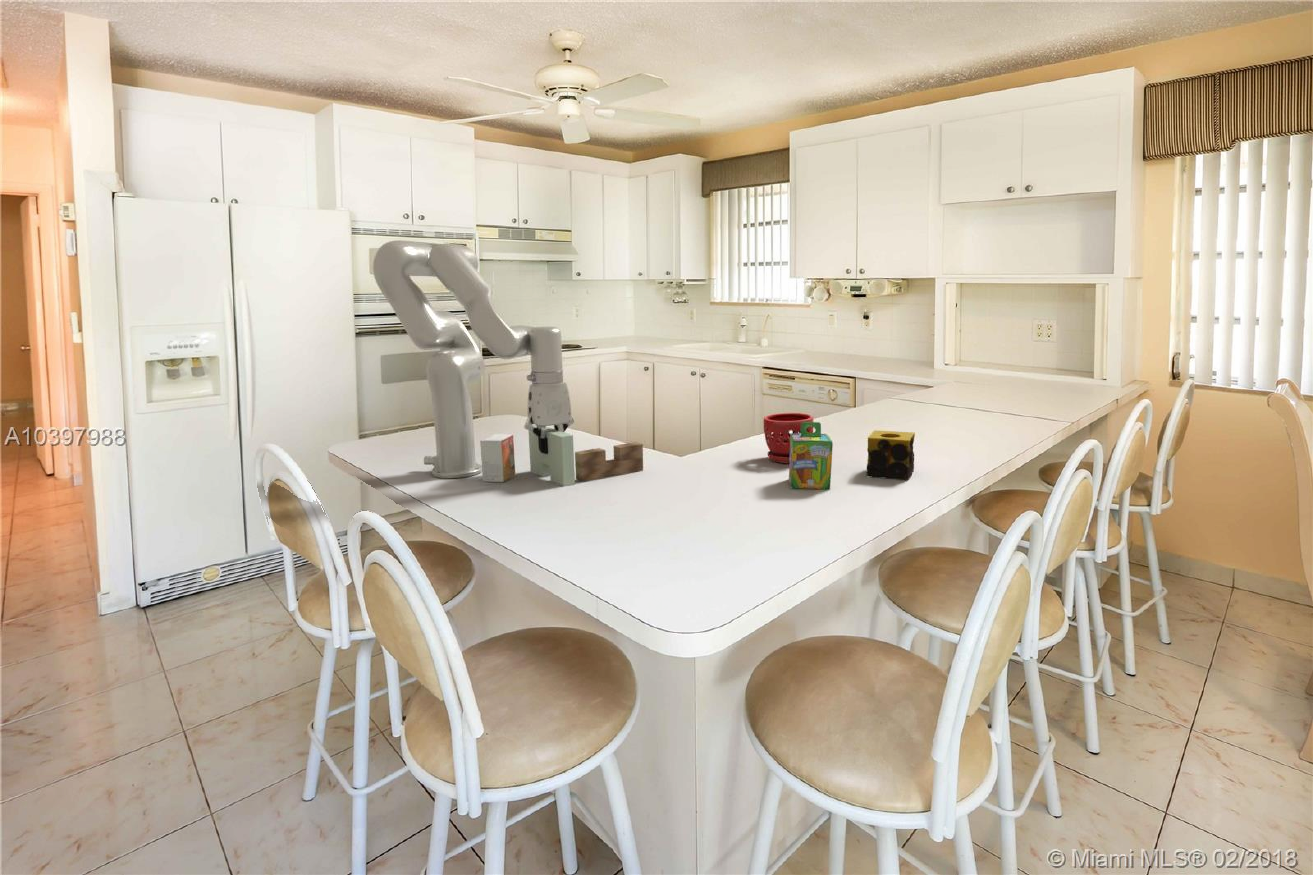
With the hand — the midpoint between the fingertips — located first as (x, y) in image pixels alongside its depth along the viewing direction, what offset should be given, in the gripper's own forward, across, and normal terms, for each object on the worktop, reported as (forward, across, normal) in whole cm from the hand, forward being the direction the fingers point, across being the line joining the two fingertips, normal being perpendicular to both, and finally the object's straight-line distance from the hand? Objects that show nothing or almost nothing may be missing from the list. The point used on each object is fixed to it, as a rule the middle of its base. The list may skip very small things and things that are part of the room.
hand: (550, 451), depth 183 cm
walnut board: (+7, +13, -7) cm, 16 cm away
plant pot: (+7, +59, -23) cm, 64 cm away
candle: (+7, +68, -50) cm, 84 cm away
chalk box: (+7, +45, -44) cm, 63 cm away
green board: (+7, 0, 0) cm, 7 cm away
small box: (+7, -11, +8) cm, 15 cm away
